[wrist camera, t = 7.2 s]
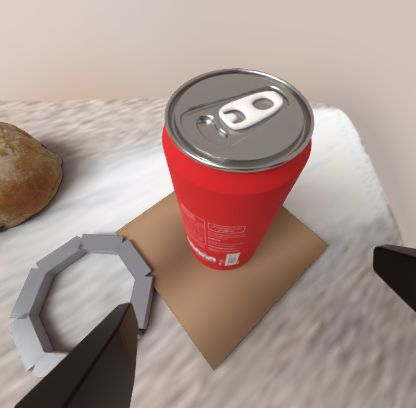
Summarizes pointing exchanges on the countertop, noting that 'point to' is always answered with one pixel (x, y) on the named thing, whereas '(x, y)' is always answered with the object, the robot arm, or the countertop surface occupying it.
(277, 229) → the coaster
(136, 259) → the ring
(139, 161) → the countertop surface
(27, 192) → the bread roll
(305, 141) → the beverage can
